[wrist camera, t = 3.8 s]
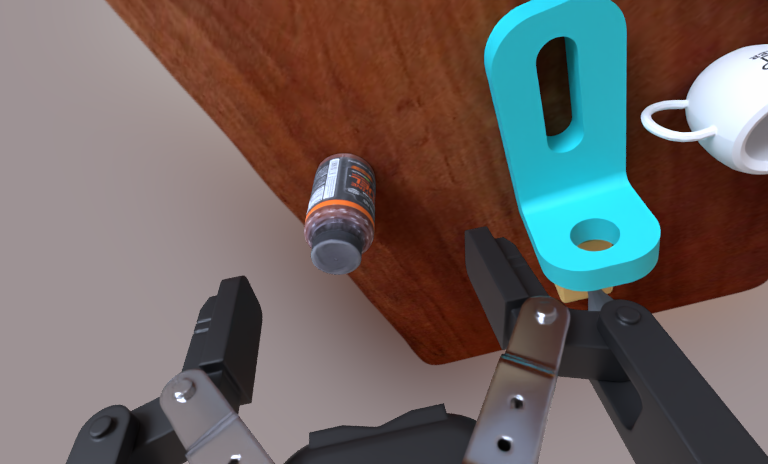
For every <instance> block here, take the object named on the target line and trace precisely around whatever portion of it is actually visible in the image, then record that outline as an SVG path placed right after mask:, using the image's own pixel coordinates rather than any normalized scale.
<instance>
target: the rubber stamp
mask: <svg viewBox="0 0 768 464" xmlns="http://www.w3.org/2000/svg"><path fill="white" fill-rule="evenodd" d="M577 247H578V248H580V249H583V250H586V251H602V250H606V249H608V248H611V247H612V243H610V242H608V241H605V240H597V239H595V240H588V241H585V242H583V243H581V244H579V245H578V246H577ZM554 284H555V283H554ZM555 286H556V289H557V291H558V293H559V296H560V298H561V301H563V302H564V303H567V302H572V301H576V300H581V299H585V298H588V311H600V310H601V308H602V306H603V305H604V304H605V303H606V302H608V301H611V300H613V299H612V298H611V297H610V296H608V295H607V294H608V293H611V291H612V289H613V286H612V287H608V288H604V289H599V290H594V291H573V290H569V289H565V288H563V287H560V286H558V285H556V284H555Z"/></svg>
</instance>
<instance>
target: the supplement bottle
mask: <svg viewBox="0 0 768 464" xmlns="http://www.w3.org/2000/svg"><path fill="white" fill-rule="evenodd" d="M375 189H376V184H375V174H374V172H373V169H372V168H371V166H370V165H369V163H367V162H366V161H365V160H364V159H362V158H360V157H358V156H356V155H353V154H349V153H340V154H335V155H332V156H330V157H328V158H326V159H325V160H324V161H323V162H322V163H321V164H320V165H319V167H318V169H317V172H316V175H315V179H314V184H313V188H312V193H311V197H310V202H309V206H308V211H307V215H306V220H305V225H304V236H305V239H306V241H307V243H308V245H309V246H310V248H311V249H312V251H311V259H312V262H313V264H314V265H315V266H316V267H317V268H318V269H319V270H322V271H323V272H326V273H330V274H334V275H336V274H338V275H340V274H346V273H350V272H352V271H353V270H355V269H356V268H357V267H358V266H359V264H360V262H361V256H362V254H363V253H364V252H366V251H367V250H368V248H369V247H370V245H371V244H372V241H373V238H374V225H375Z"/></svg>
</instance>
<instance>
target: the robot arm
mask: <svg viewBox="0 0 768 464" xmlns="http://www.w3.org/2000/svg"><path fill="white" fill-rule="evenodd" d="M465 262H466V269H467V273H468V276H469V279H470V281H471V283H472V285H473V287H474V289H475V292H476V294H477V296H478V298H479V300H480V302H481V305H482V307H483V309H484V311H485V313H486V315H487V318H488V320H489V322H490V324H491V326H492V328H493V331H494V333H495V335H496V337H497V339H498V341H499V344H500V346H501V348H502V350H505V349H506V352H505V354H502V355H501V357H500V359H499V361H498V364H497V367H496V369H495V372H494V375H493V378H492V380H491V383H490V386H489V389H488V392H487V395H486V397H485V400H484V403H483V405H482V408H481V411H480V414H479V416H478V419H477V421H476V420H474V419H471V418H469V417H466V416H462V415H457V414H450V413H446V409H445V406H444V403H443V404H439V405H434V406H429V407H425V408H420V409H416V410H411V411H409V412H407V413H405V414H403V415H401V416H399V417H397V418H395V419H393V420H391V421H389V422H387V423H385V424H384V425H381V426H378V427H365V426H344V425H342V426H338V427H333V428H328V429H324V430H319V431H315V432H310V433H309V444H308V445H306V446H305V447H303V448H301V449H300V450H298V451H297V452H296V453H295V454H293V455H292V456H291V457H290V458H289V459H288V460H287V461H286V462H285V463H284V464H538V460H539V456H540V451H541V447H542V442H543V438H544V433H545V429H546V425H547V421H548V416H549V412H550V408H551V403H552V399H553V395H554V391H555V386H556V382H557V377H558V376H560V377H571V378H581V379H589V380H590V382H591V384H592V385H593V388H594V389H595V391H596V393H597V395H598V397H599V398H600V400H601V402H602V404H603V405H604V407H605V409H606V411H607V413H608V415H609V416H610V418H611V420H612V421H613V424H614V425H615V427H616V429H617V431H618V433H619V434H620V436H621V438H622V440H623V442H624V443H625V445H626V447H627V449H628V451H629V452H630V454H631V456H632V458H633V460H634V461H635V463H636V464H768V456H767V455H766V454H765V453H764V451H763V450H762V449H761V448H760V446H758V444H757V443H756V442H755V440H754V439H753V438H752V437H751V435H749V433H748V432H747V431H746V429H745V428H744V427H743V426H742V424H741V423H740V422H739V421H738V419H737V418H736V417H735V416H734V415H733V413H732V412H731V411H730V410H729V408H728V407H727V406H726V405H725V403H724V402H723V401H722V400H721V399H720V397H719V396H718V395H717V394H716V392H715V391H714V390H713V389H712V388H711V386H710V385H709V384H708V383H707V381H706V380H705V379H704V378H703V377H702V375H701V374H700V373H699V372H698V370H697V369H696V368H695V367H694V365H693V364H692V363H691V362H690V360H689V359H688V358H687V357H686V356H685V354H684V353H683V352H682V351H681V349H680V348H679V347H678V346H677V344H676V343H675V342H674V341H673V340H672V338H671V337H670V336H669V335H668V333H667V332H666V331H665V330H664V329H663V327H662V326H661V325H660V324H659V322H658V321H657V320H656V319H655V317H654V316H653V315H652V314H651V313H650V312H649V311H648V310H647V309H646V308H645V307H643V306H641V305H639V304H637V303H635V302H632V301H628V300H620V299H618V300H611V301H608V302H606V303H605V304H604V305H603V306H602V308H601V310H600V311H587V310H574V309H570V308H567V307H566V306H565V304H563V303H562V302H561V301H559V300H557V299H555V298H553V297H549V295H548V294H547V292H546V291H545V289H544V288H543V286H542V285H541V283H540V282H539V280H538V279H537V277H536V276H535V274H534V273H533V271H532V270H531V268H530V267H529V265H527V262H526V261H525V259H524V258H523V257H522V255H521V253H520V252H519V250H518V249H517V247H516V246H515V245H514V244H513V243H511V242H510V241H508V240H507V239H505V238H504V237H502V238H497V239H494V237H493V236H492V234H491V232H490V231H489V229H488V228H487V227H480V228H475V229H471V230H466V231H465ZM261 326H262V310H261V307H260V304H259V302H258V300H257V298H256V296H255V294H254V292H253V290H252V288H251V286H250V284H249V281H248V279H247V278H246V277H245V276H238V277H234V278H229V279H224V280H222V281H221V284H220V287H219V291H218V294H217V296H212V297H210V298H209V299H208V300H207V302H206V303H205V304H204V305H203V307H202V308H201V310H200V313H199V316H198V320H197V324H196V326H195V330H194V334H193V336H192V339H191V343H190V347H189V349H188V353H187V356H186V359H185V362H184V366H183V369H182V372H181V373H179V374H178V375H176V376H175V377H173V378H172V379H171V380H170V381H169V382H168V383H167V384H166V386H165V387H164V389H163V390H162V393H161V395H160V397H158V398H156V399H155V400H153V401H151V402H149V403H146V404H145V405H143V406H140V407H138V408H136V409H134V410H132V411H130V410H129V409H128V408H126V407H125V406H123V405H113V406H109V407H107V408H104V409H102V410H101V411H99V412H98V413H96V414H95V415H93V416H92V417H91V418H90V419H89V420H88V421H87V422H86V423H85V425H84V426H83V427H82V428H81V430H80V432H79V434H78V436H77V438H76V440H75V443H74V445H73V448H72V450H71V452H70V455H69V457H68V460H67V462H66V464H183V463H184V462H186V461H188V462H189V464H275V463H274V462H273V460H272V459H271V458H270V457H269V455H268V454H267V453H266V451H265V450H264V449H263V447H262V446H261V445H260V443H259V442H258V441H257V439H256V438H255V437H254V435H253V434H252V433H251V431H250V430H249V429H248V427H247V426H246V425H245V424H244V422H243V421H242V420H241V419H240V417H239V416H238V411H239V406H240V405H244V404H249V403H251V402H252V394H253V387H254V380H255V372H256V365H257V357H258V349H259V341H260V334H261Z"/></svg>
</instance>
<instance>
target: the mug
mask: <svg viewBox="0 0 768 464" xmlns="http://www.w3.org/2000/svg"><path fill="white" fill-rule="evenodd" d="M683 108H685V112H686V118H687V122H688V124H689V127H690V129H691V131H692V132H683V133H682V132H676V131H672V130H669V129H666V128H663V127H661V126H659V125H658V124H656V123H655V122H654V121H653V120H652V118H651V114H653V113H655V112H657V111H661V110H665V109H683ZM641 121H642V124H643V125H644V127H645V128H646V129H647V130H648V131H650V132H651V133H652V134H654V135H656V136H659V137H661V138H664V139H667V140H672V141H679V142H689V141H698V142H699V143H700V144H701V145H702V146H703V147H704V148H705V149H706V150H707V151H708V153H709V154H711V155H712V156H713V157H714V158H716V159H717V160H718V161H720V162H722V163H723V164H725V165H727V166H728V167H730V168H732V169H734V170H737V171H740V172H745V173H750V174H768V44H762V45H753V46H747V47H744V48H740V49H737V50H735V51H733V52H730V53H728V54H726V55H724V56H722V57H721V58H719V59H717V60H716V61H714V62H713V63H711V64H710V65H709V66H708V67H707V68H705V69H704V70H703V71H702V72H701V73H700V75H699V76H698V77H697V78H696V80H695V81H694V83H693V84H692V86H691V88H690V90H689V92H688V95H687V98H686V100H669V101H662V102H658V103H654V104H652V105H650V106H648V107H647V108H645V110H644V111H643V112H642V113H641Z"/></svg>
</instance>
